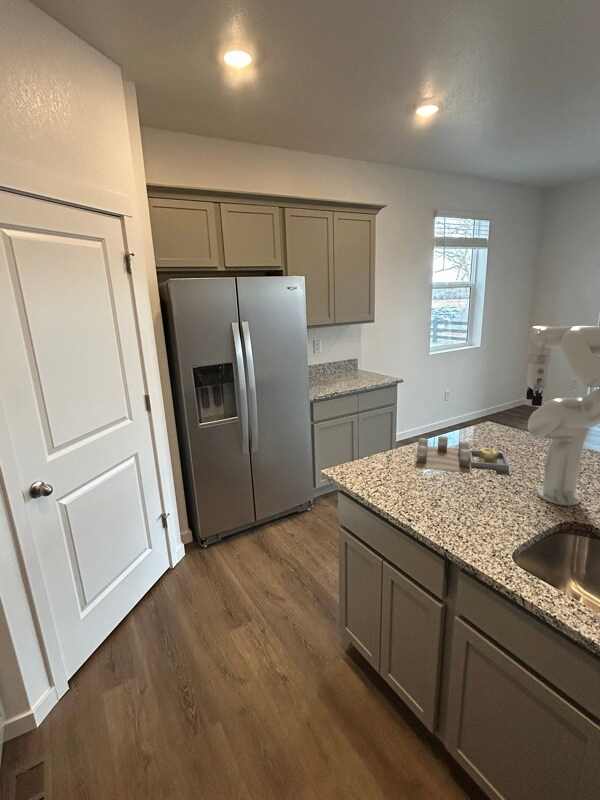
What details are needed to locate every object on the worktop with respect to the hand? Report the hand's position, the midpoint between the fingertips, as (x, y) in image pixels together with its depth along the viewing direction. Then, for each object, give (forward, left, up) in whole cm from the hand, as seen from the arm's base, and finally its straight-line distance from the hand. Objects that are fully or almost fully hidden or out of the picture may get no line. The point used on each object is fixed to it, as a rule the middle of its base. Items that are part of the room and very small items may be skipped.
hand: (533, 402), depth 151 cm
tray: (+2, +14, -28) cm, 32 cm away
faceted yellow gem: (+2, +14, -27) cm, 31 cm away
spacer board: (+1, +32, -28) cm, 43 cm away
